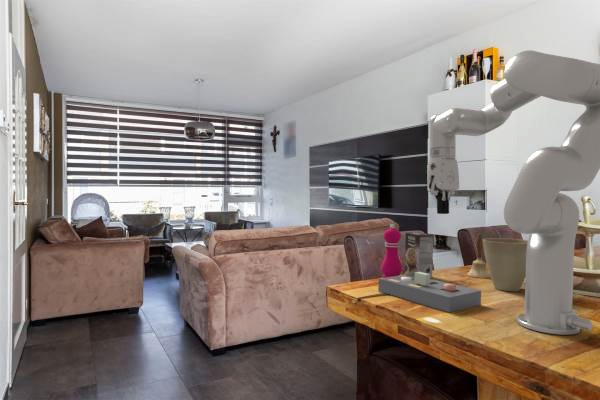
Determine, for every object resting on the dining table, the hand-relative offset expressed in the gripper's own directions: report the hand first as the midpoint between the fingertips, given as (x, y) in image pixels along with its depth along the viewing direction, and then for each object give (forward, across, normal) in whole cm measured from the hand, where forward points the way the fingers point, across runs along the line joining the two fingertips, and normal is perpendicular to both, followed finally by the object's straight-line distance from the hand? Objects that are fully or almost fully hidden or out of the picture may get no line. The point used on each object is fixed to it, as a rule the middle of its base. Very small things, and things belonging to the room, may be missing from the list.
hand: (443, 213), depth 124 cm
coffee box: (+24, +14, +21) cm, 35 cm away
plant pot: (+25, +23, -7) cm, 35 cm away
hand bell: (+25, +35, +9) cm, 44 cm away
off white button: (+22, -8, +8) cm, 25 cm away
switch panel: (+25, -8, 0) cm, 26 cm away
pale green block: (+24, -10, 0) cm, 26 cm away
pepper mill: (+24, 0, +22) cm, 33 cm away
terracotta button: (+22, -9, -8) cm, 25 cm away
